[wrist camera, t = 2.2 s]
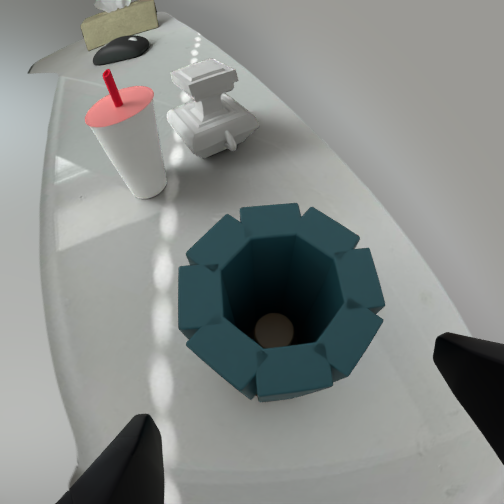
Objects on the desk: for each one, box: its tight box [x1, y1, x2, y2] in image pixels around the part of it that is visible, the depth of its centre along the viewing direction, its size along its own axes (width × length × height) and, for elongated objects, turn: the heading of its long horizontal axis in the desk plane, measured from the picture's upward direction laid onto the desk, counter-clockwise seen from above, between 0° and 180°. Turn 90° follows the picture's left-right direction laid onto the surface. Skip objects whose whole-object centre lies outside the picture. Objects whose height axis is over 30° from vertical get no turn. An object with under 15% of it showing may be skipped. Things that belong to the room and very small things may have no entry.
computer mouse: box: [93, 36, 150, 65], centre depth 43 cm, size 8×12×4 cm, turn 88°
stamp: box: [167, 58, 259, 159], centre depth 24 cm, size 9×7×8 cm
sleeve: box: [178, 203, 385, 402], centre depth 13 cm, size 6×6×10 cm
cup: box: [85, 69, 167, 199], centre depth 20 cm, size 5×5×12 cm
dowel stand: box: [248, 313, 298, 397], centre depth 15 cm, size 6×6×6 cm
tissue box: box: [81, 0, 159, 51], centre depth 47 cm, size 19×10×16 cm, turn 111°
